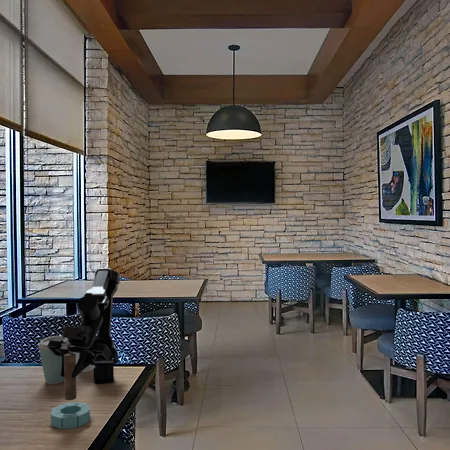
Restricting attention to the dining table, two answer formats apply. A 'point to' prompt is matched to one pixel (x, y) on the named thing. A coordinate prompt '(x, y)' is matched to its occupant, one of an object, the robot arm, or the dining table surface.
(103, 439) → the dining table surface
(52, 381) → the disposable coffee cup
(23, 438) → the dining table surface
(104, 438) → the dining table surface
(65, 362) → the brown post
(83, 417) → the bead
